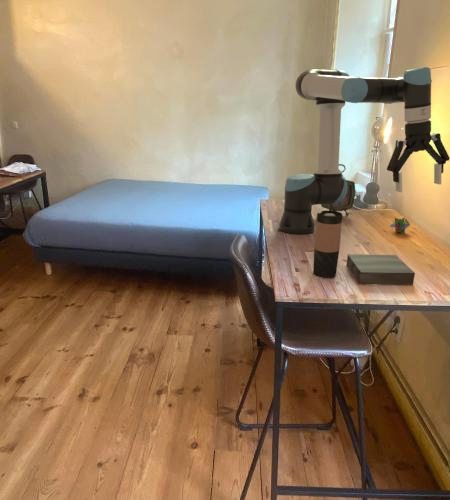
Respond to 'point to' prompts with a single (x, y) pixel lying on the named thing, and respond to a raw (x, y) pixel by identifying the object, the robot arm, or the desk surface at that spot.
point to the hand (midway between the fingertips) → (418, 187)
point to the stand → (380, 269)
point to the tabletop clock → (346, 201)
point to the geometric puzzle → (400, 225)
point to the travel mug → (327, 243)
